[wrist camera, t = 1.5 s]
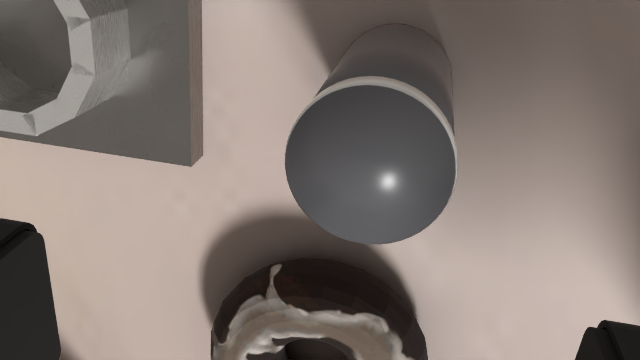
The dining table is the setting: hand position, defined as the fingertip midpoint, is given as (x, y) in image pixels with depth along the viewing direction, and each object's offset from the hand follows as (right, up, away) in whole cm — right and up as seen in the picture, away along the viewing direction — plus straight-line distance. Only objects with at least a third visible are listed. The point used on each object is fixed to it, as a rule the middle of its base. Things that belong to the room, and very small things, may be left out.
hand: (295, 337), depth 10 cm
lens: (+4, +7, +16) cm, 18 cm away
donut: (+1, -6, +23) cm, 24 cm away
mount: (-12, +10, +18) cm, 24 cm away
